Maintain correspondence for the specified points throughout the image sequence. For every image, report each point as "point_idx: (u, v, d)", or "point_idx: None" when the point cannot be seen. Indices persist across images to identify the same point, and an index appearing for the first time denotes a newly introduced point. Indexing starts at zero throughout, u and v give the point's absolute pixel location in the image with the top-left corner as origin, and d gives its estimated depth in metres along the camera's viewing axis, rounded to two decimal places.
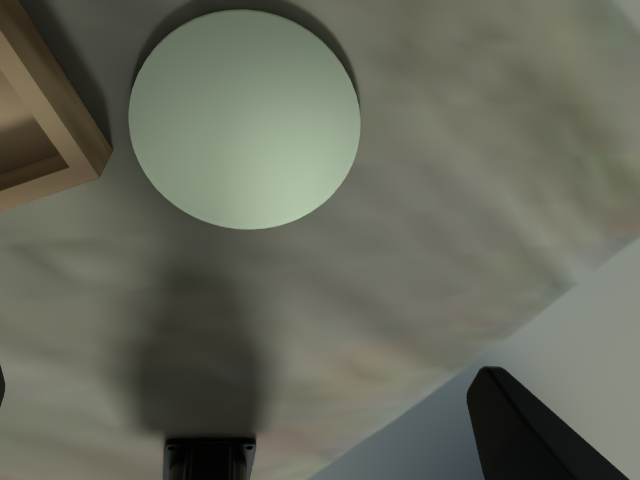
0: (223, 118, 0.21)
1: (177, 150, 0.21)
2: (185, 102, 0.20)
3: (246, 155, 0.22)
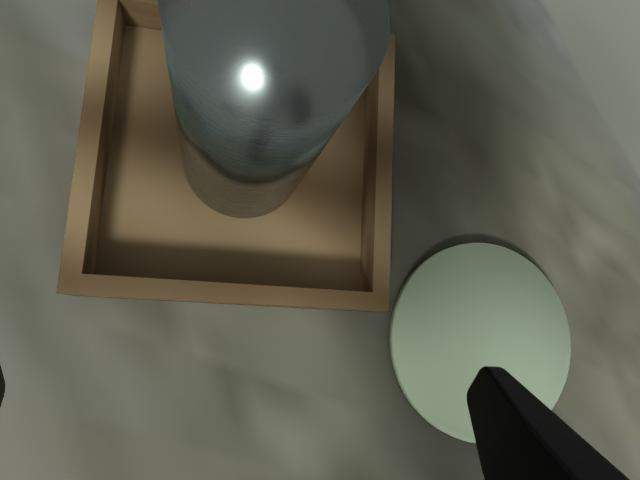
0: (473, 317, 0.24)
1: (428, 328, 0.24)
2: (451, 293, 0.24)
3: (478, 357, 0.24)
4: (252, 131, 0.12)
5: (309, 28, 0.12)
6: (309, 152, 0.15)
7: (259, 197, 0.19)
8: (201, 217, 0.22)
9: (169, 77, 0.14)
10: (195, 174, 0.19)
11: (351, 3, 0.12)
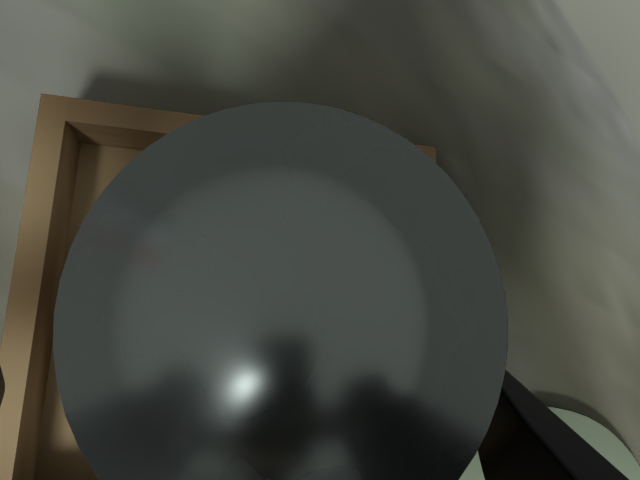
0: None
1: None
2: None
3: None
4: None
5: (361, 358, 0.06)
6: None
7: None
8: None
9: None
10: None
11: (437, 292, 0.06)
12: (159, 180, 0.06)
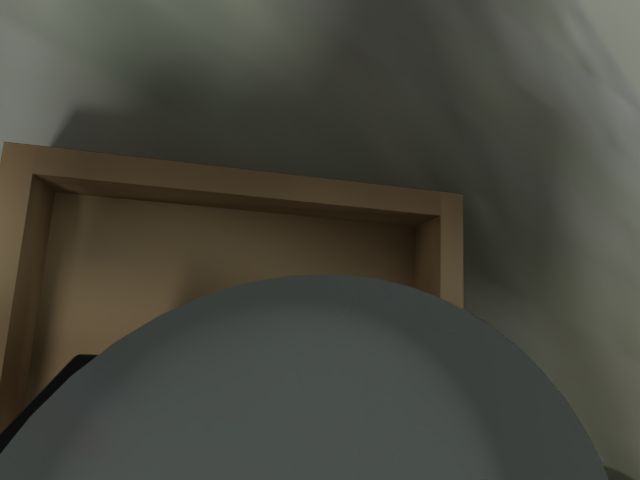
0: None
1: None
2: None
3: None
4: None
5: None
6: None
7: None
8: None
9: None
10: None
11: None
12: (91, 432, 0.03)
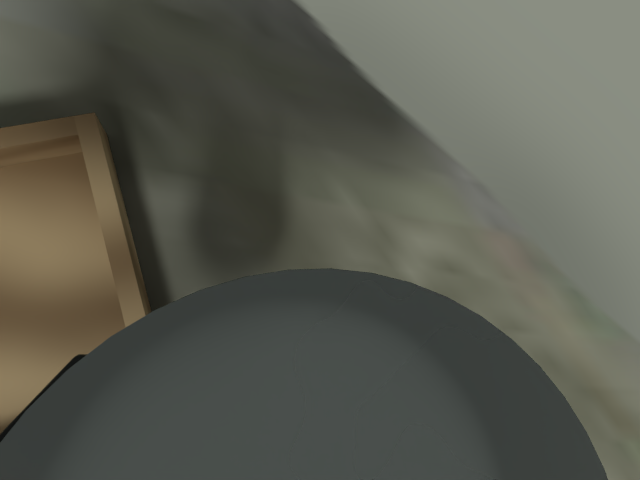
0: None
1: None
2: None
3: None
4: None
5: None
6: None
7: None
8: None
9: None
10: None
11: None
12: (87, 426, 0.03)
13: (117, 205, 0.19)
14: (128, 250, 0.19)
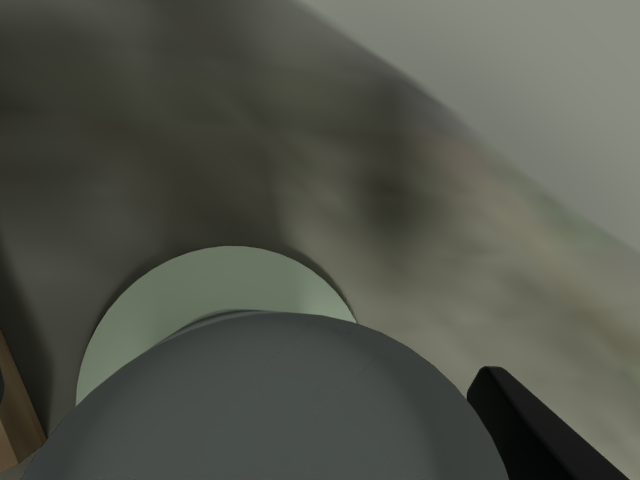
0: None
1: None
2: None
3: None
4: None
5: None
6: None
7: None
8: None
9: None
10: None
11: None
12: (105, 433, 0.05)
13: None
14: None
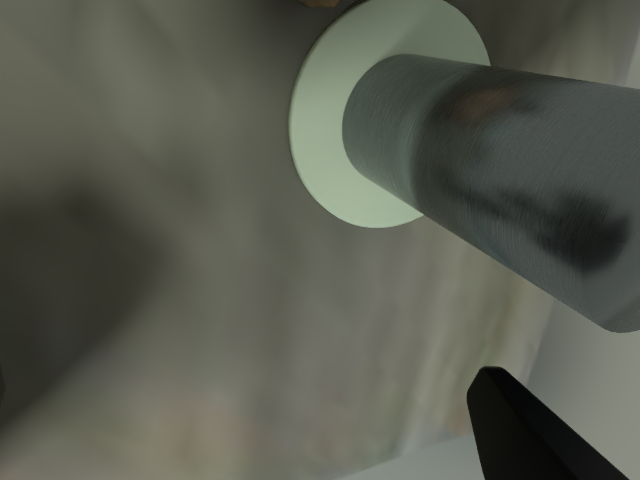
0: None
1: (356, 69, 0.19)
2: (402, 49, 0.20)
3: None
4: (543, 260, 0.11)
5: None
6: (504, 265, 0.14)
7: (402, 196, 0.17)
8: None
9: (538, 120, 0.12)
10: (392, 121, 0.17)
11: None
12: None
13: None
14: None
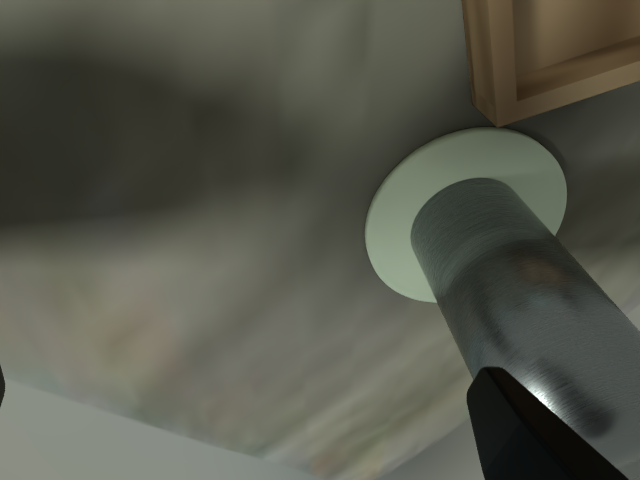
0: None
1: (468, 171, 0.22)
2: (509, 181, 0.22)
3: None
4: None
5: None
6: None
7: (438, 288, 0.20)
8: None
9: (584, 324, 0.15)
10: (473, 234, 0.19)
11: None
12: None
13: None
14: None
